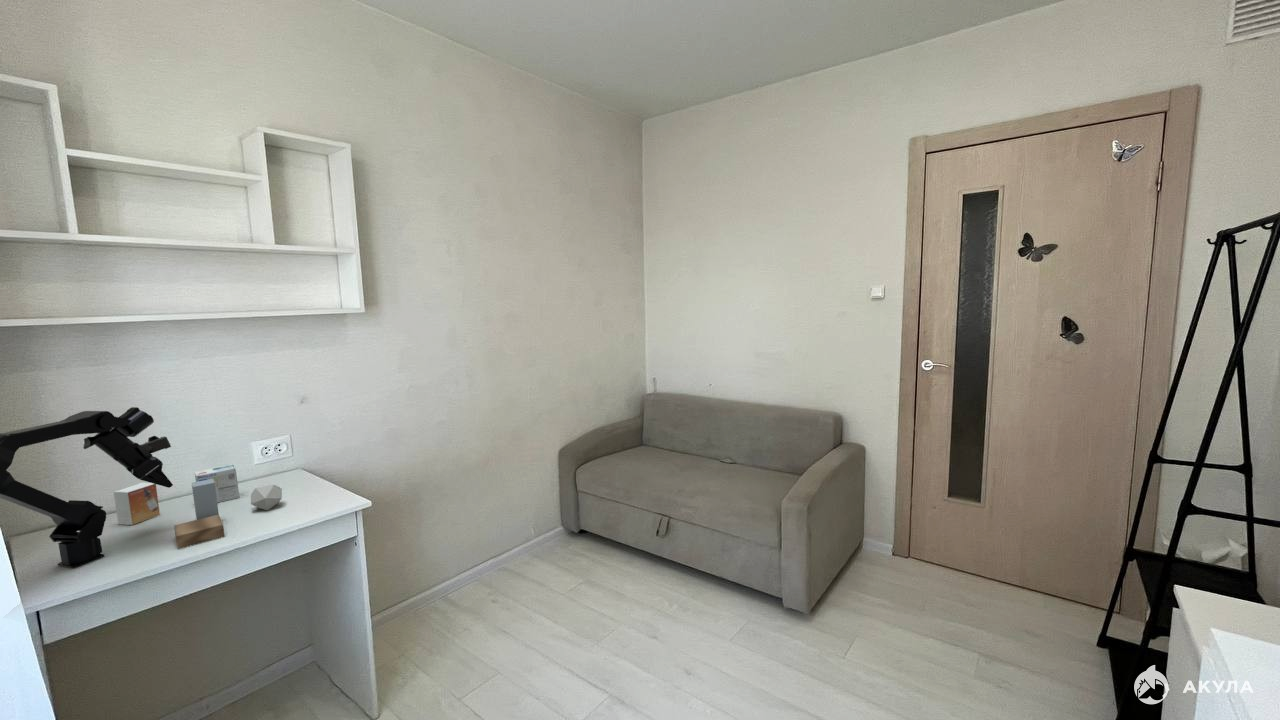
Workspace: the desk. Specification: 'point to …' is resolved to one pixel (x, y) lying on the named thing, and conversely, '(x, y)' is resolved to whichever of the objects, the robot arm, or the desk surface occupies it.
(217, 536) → the walnut base block
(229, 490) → the light bulb box
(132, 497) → the small box
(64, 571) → the desk surface
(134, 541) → the desk surface
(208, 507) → the slate block
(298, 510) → the desk surface
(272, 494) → the die
